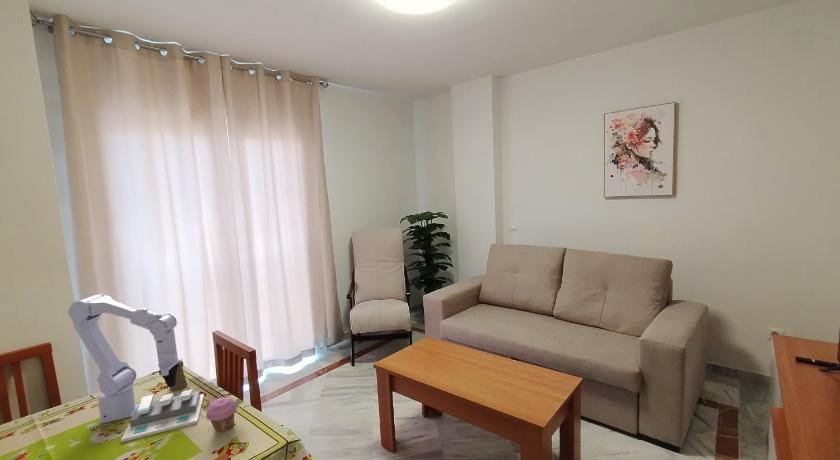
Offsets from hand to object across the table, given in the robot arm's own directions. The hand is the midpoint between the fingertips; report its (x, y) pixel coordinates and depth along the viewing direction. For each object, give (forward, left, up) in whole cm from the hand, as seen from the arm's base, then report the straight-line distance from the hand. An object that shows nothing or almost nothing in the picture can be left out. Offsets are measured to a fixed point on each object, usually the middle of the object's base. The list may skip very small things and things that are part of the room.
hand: (171, 385), depth 133 cm
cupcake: (+17, -19, -10) cm, 27 cm away
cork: (-2, +19, -10) cm, 21 cm away
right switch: (+4, -1, -5) cm, 6 cm away
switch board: (-2, -3, -10) cm, 10 cm away
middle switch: (-2, -1, -6) cm, 6 cm away
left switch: (-8, -1, -5) cm, 9 cm away
